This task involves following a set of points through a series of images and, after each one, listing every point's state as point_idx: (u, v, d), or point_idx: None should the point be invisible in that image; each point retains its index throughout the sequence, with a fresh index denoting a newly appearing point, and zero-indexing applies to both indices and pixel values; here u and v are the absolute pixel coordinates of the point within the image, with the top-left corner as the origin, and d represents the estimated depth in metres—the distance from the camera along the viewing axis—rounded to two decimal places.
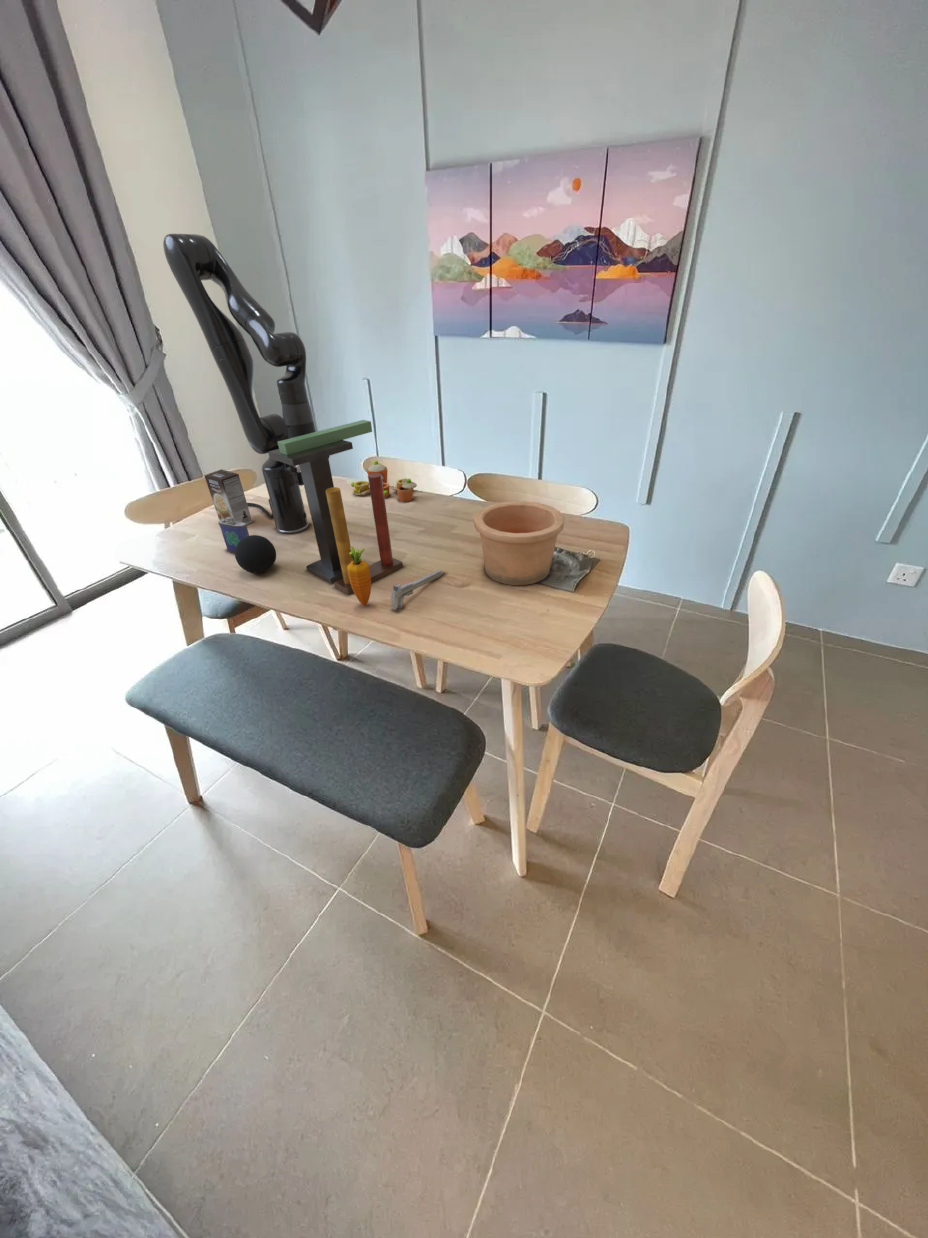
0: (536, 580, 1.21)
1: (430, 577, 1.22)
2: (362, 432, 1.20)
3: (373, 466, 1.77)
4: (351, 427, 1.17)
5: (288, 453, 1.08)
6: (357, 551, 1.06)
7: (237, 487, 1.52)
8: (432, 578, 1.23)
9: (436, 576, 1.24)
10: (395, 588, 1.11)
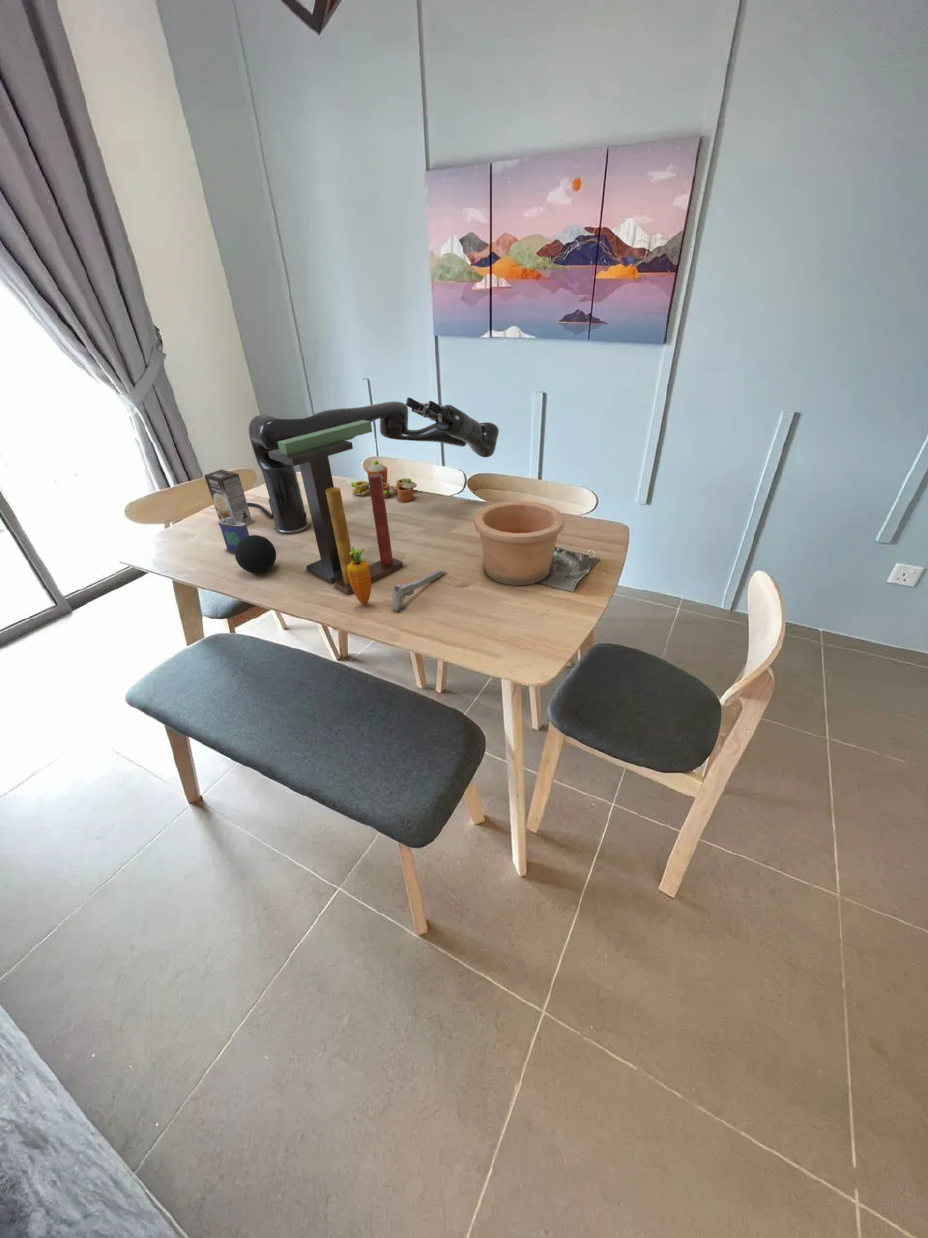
0: (536, 580, 1.21)
1: (430, 577, 1.22)
2: (362, 432, 1.20)
3: (373, 466, 1.77)
4: (351, 427, 1.17)
5: (288, 453, 1.08)
6: (357, 551, 1.06)
7: (237, 487, 1.52)
8: (432, 578, 1.23)
9: (436, 576, 1.24)
10: (396, 588, 1.11)
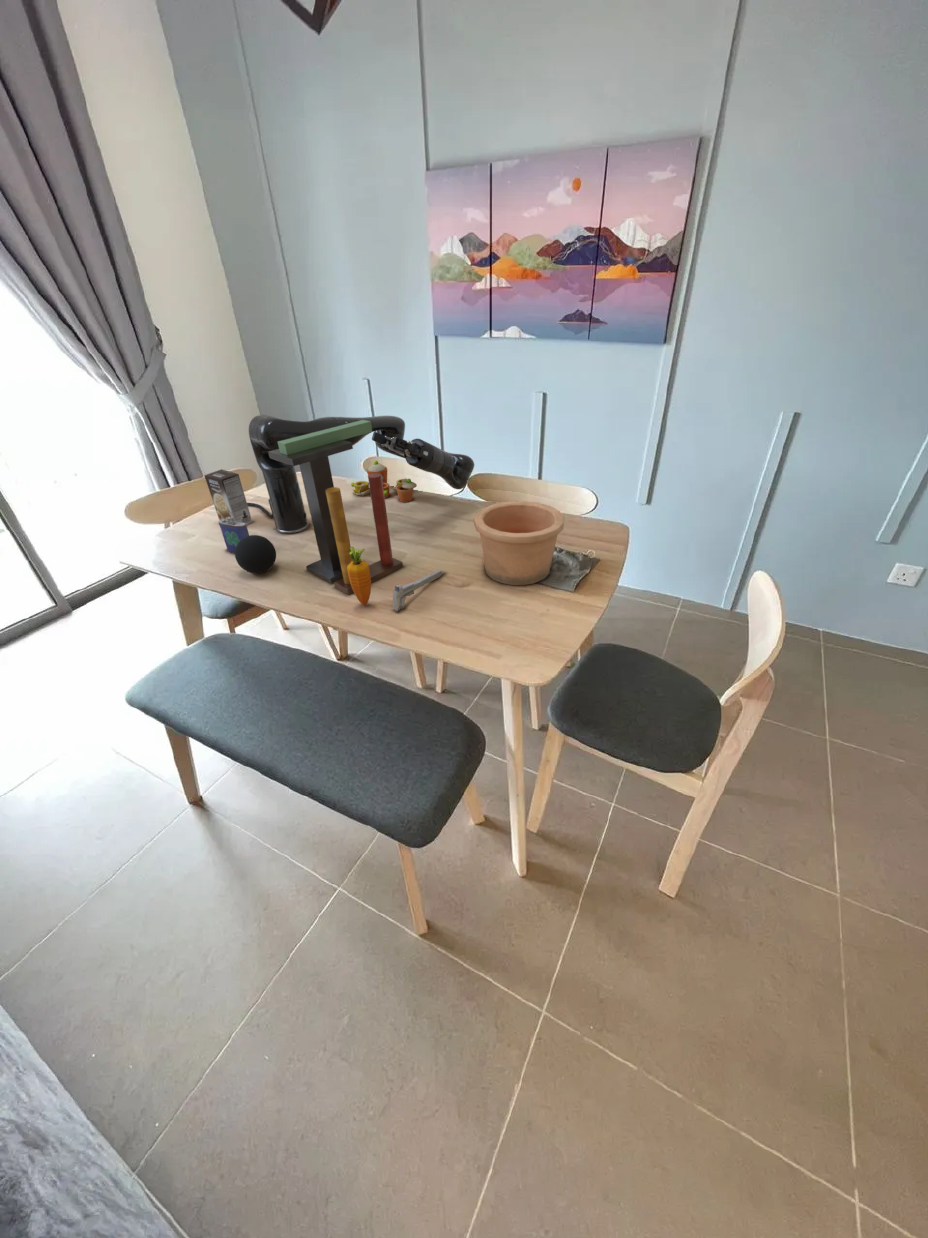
0: (536, 580, 1.21)
1: (431, 577, 1.22)
2: (362, 432, 1.20)
3: (373, 466, 1.77)
4: (351, 427, 1.17)
5: (288, 453, 1.08)
6: (357, 551, 1.06)
7: (237, 487, 1.52)
8: (433, 578, 1.23)
9: (436, 576, 1.24)
10: (397, 588, 1.11)
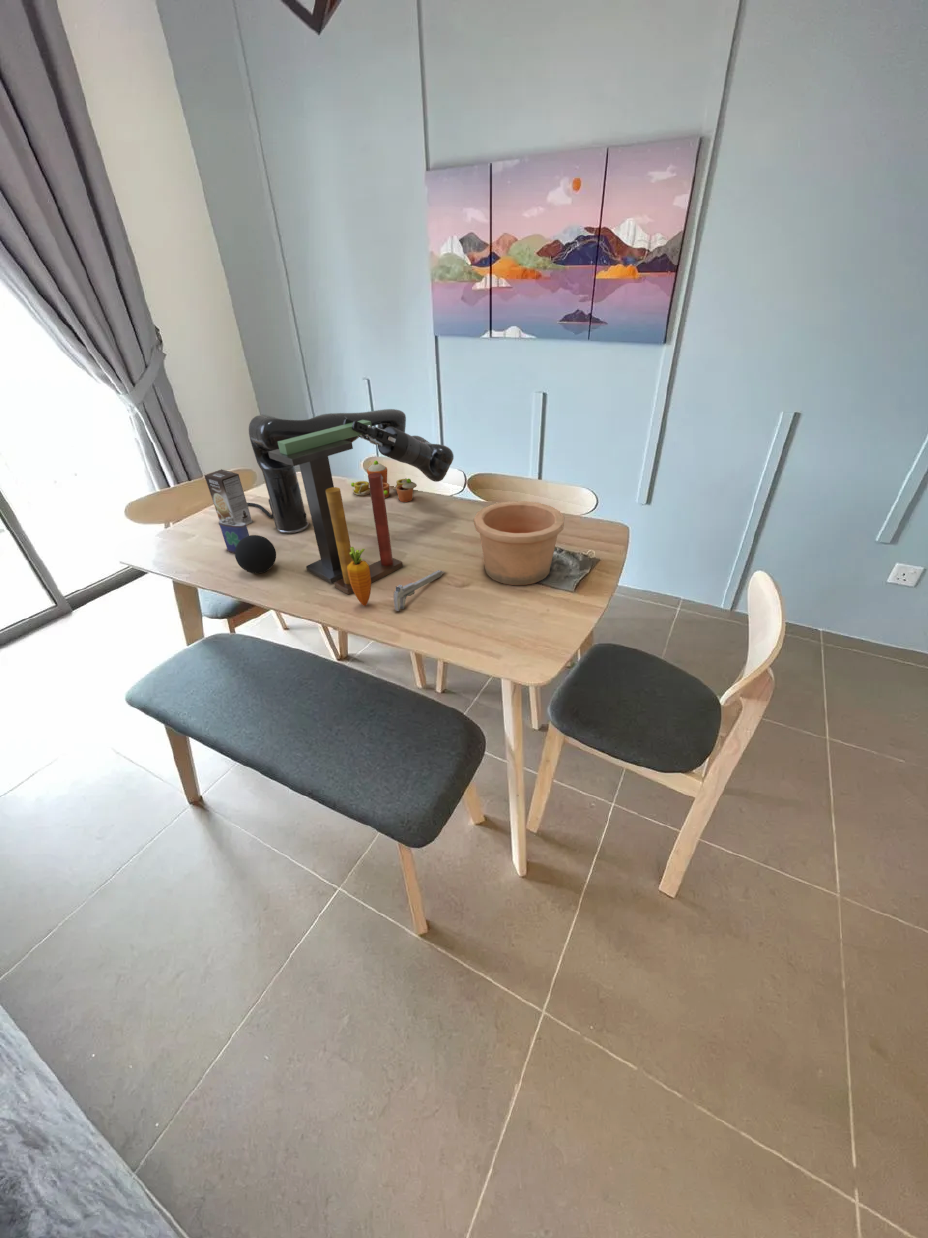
0: (536, 580, 1.21)
1: (431, 577, 1.22)
2: None
3: (373, 466, 1.77)
4: (351, 427, 1.17)
5: (288, 453, 1.08)
6: (357, 551, 1.06)
7: (237, 487, 1.52)
8: (433, 578, 1.23)
9: (437, 576, 1.24)
10: (397, 589, 1.11)
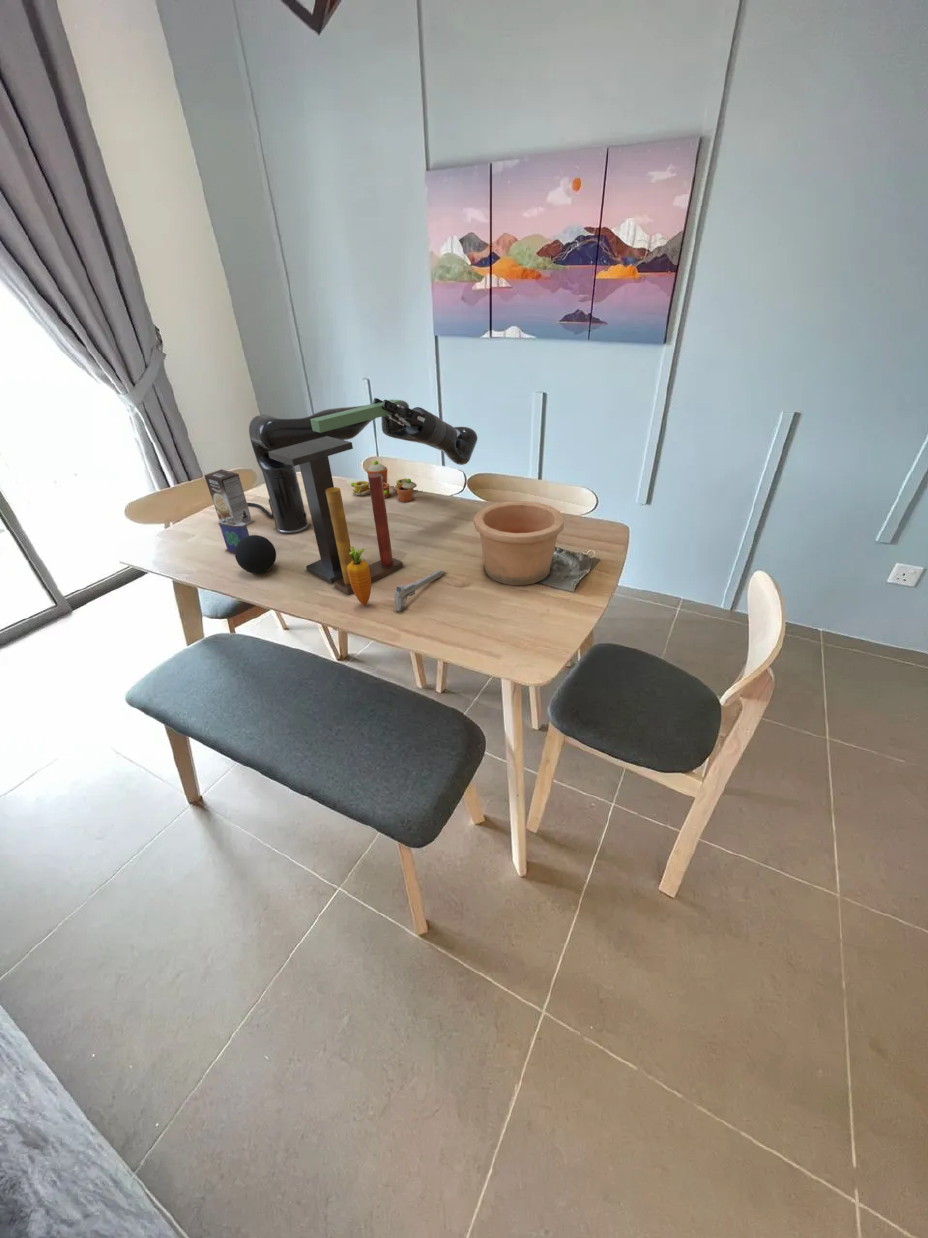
0: (536, 580, 1.21)
1: (431, 577, 1.22)
2: None
3: (373, 466, 1.77)
4: (381, 406, 1.17)
5: (321, 430, 1.08)
6: (357, 551, 1.06)
7: (237, 487, 1.52)
8: (433, 578, 1.23)
9: (437, 576, 1.24)
10: (398, 589, 1.10)
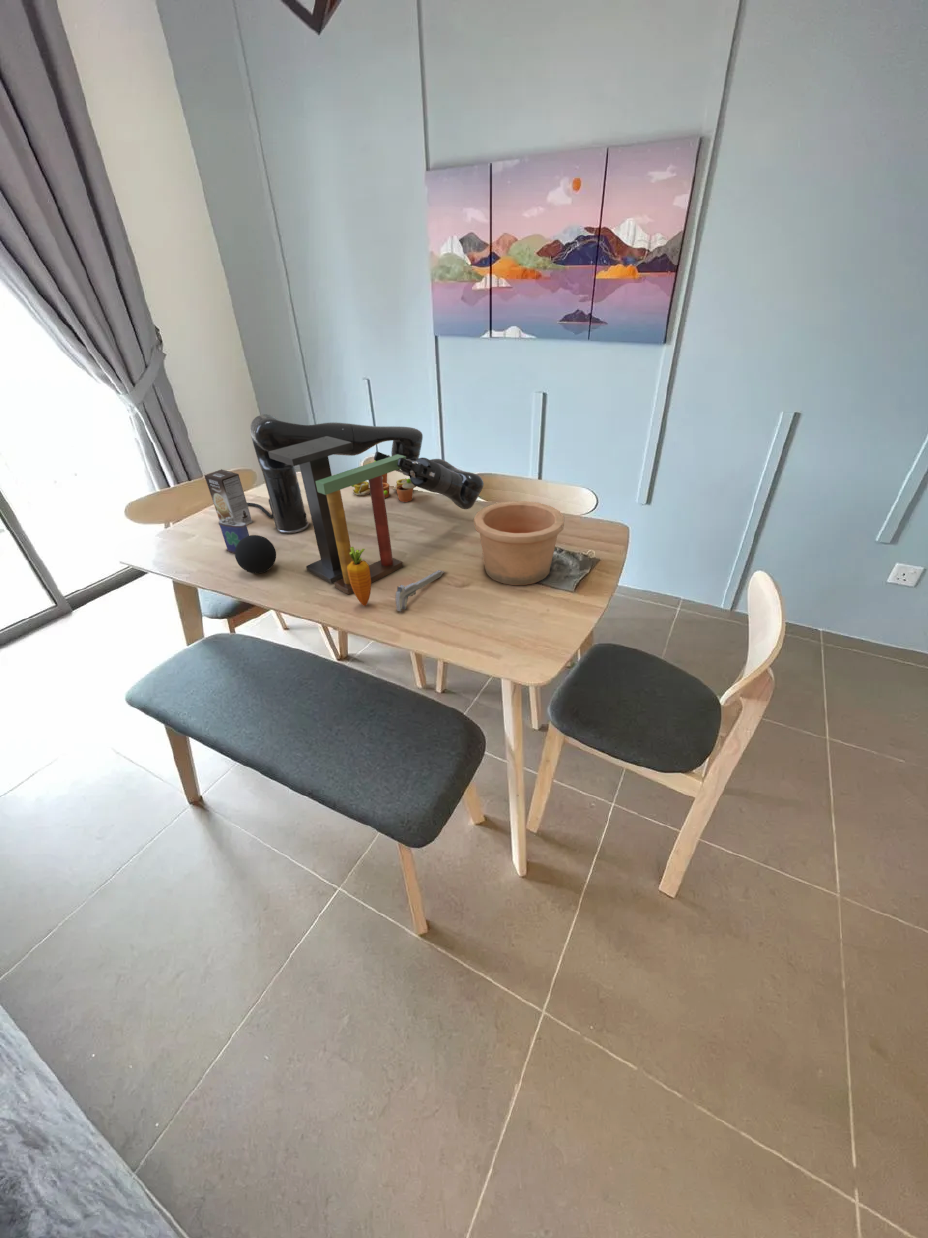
0: (536, 580, 1.21)
1: (432, 577, 1.22)
2: (397, 467, 1.19)
3: None
4: (387, 463, 1.16)
5: (326, 493, 1.07)
6: (357, 551, 1.06)
7: (237, 487, 1.52)
8: (433, 578, 1.23)
9: (437, 576, 1.24)
10: (399, 589, 1.10)
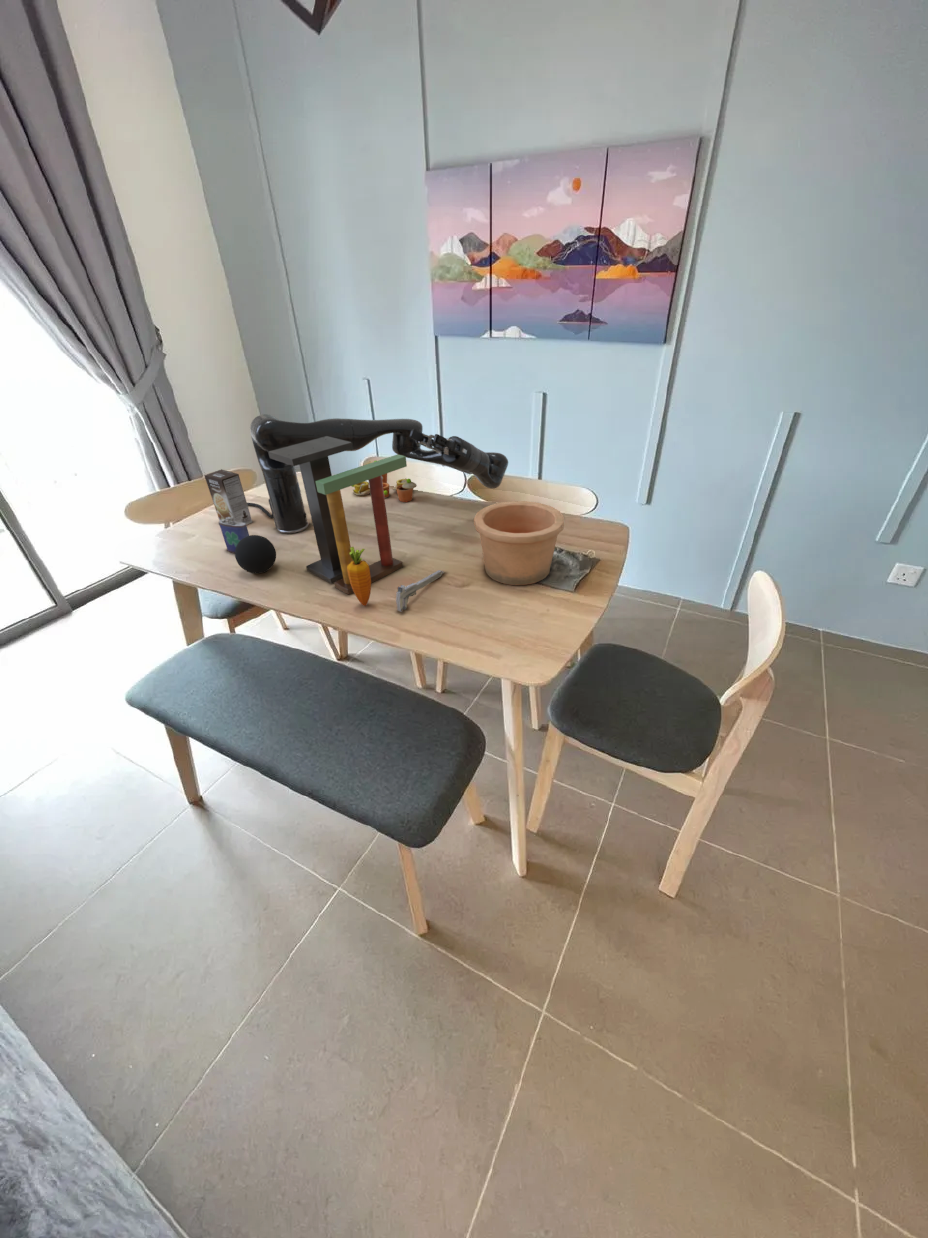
0: (536, 580, 1.21)
1: (432, 577, 1.22)
2: (397, 467, 1.19)
3: None
4: (387, 463, 1.16)
5: (326, 493, 1.07)
6: (357, 551, 1.06)
7: (237, 487, 1.52)
8: (434, 578, 1.23)
9: (437, 576, 1.24)
10: (400, 589, 1.10)
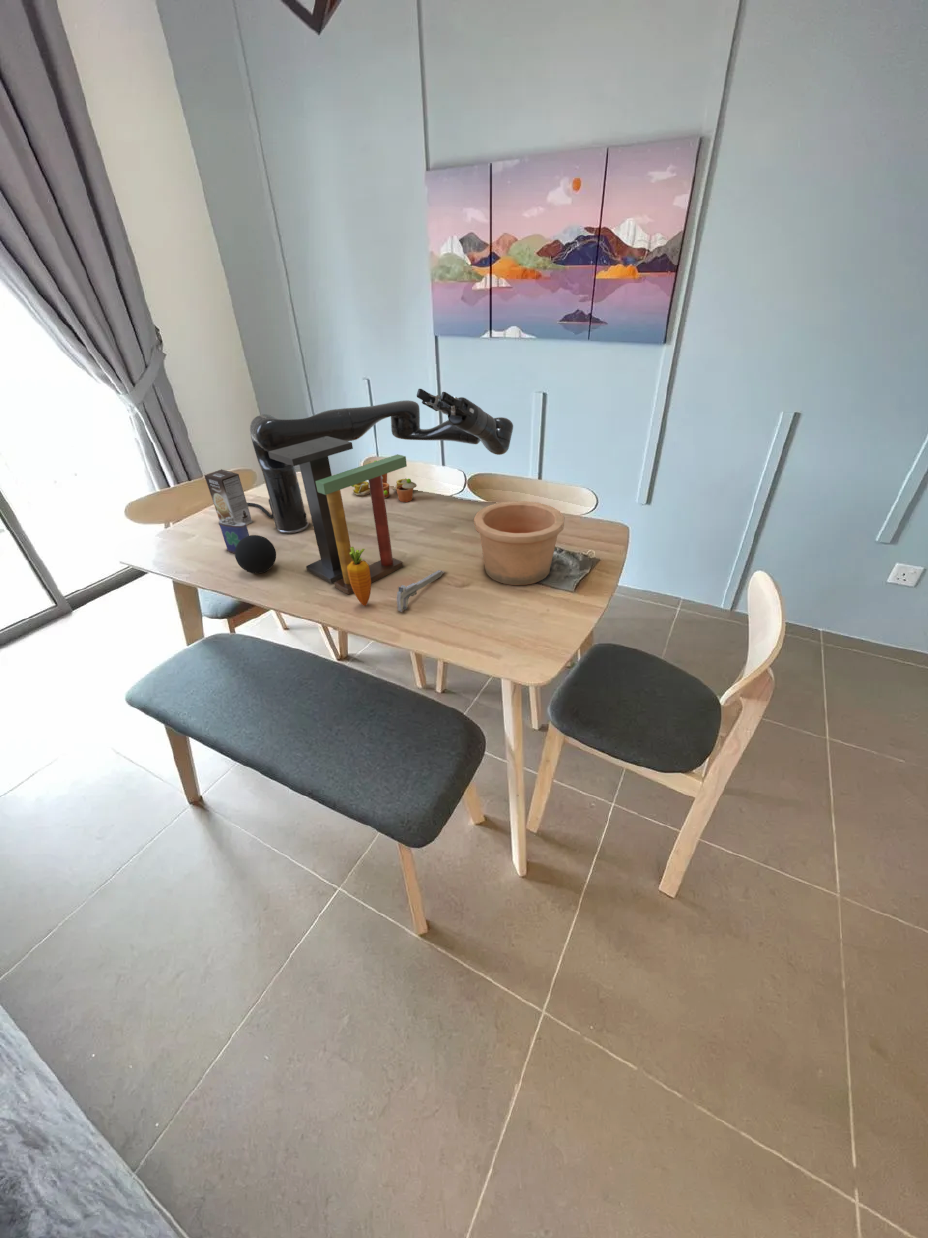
0: (536, 580, 1.21)
1: (432, 577, 1.22)
2: (397, 467, 1.19)
3: None
4: (387, 463, 1.16)
5: (326, 493, 1.07)
6: (357, 551, 1.06)
7: (237, 487, 1.52)
8: (434, 578, 1.23)
9: (437, 576, 1.24)
10: (400, 589, 1.10)
